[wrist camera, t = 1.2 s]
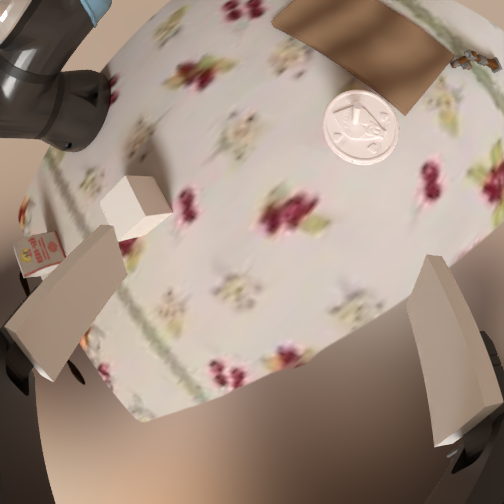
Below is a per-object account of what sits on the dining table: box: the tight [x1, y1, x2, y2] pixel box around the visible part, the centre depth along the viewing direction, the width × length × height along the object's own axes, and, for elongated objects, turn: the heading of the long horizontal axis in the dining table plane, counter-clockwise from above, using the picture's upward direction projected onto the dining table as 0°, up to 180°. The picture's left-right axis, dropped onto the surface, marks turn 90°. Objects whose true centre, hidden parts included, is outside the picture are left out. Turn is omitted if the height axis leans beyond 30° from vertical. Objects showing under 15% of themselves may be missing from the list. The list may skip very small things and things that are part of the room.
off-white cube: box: [99, 175, 173, 241], centre depth 35 cm, size 6×6×6 cm
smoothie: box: [323, 90, 399, 165], centre depth 22 cm, size 6×6×14 cm
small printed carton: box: [13, 231, 66, 278], centre depth 42 cm, size 4×7×10 cm, turn 31°
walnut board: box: [271, 0, 454, 115], centre depth 24 cm, size 20×12×1 cm, turn 50°
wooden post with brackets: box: [450, 50, 502, 73], centre depth 20 cm, size 2×8×4 cm, turn 105°
